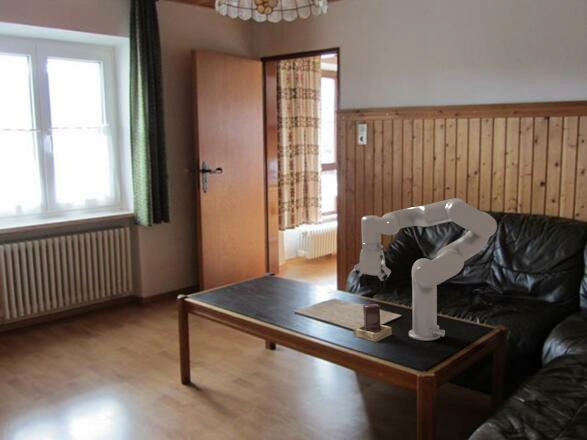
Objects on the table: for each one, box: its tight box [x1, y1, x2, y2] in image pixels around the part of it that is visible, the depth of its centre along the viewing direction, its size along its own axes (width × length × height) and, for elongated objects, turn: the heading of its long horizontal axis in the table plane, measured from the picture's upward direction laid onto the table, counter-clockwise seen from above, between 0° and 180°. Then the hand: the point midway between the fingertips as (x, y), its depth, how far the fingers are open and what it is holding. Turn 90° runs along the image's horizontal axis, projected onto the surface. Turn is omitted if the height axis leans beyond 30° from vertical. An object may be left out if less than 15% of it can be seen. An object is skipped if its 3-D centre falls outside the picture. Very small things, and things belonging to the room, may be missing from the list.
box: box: [362, 303, 381, 333], centre depth 247 cm, size 6×4×12 cm
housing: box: [353, 324, 393, 343], centre depth 248 cm, size 11×11×3 cm
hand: (372, 288), depth 245 cm, fingers open, 9 cm apart
